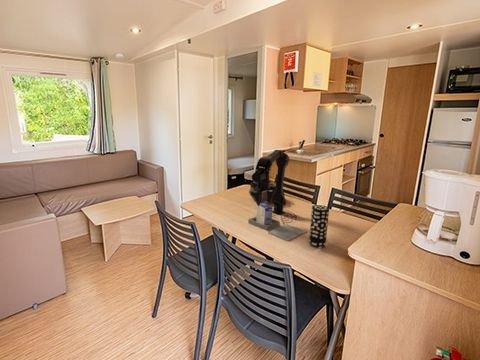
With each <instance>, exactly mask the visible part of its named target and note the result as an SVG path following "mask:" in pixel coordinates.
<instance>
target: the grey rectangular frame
mask: <svg viewBox="0 0 480 360" xmlns="http://www.w3.org/2000/svg"><path fill="white" fill-rule="evenodd" d="M256 218H257V216H254V217H252V218H248V222H247V223H248V224H249V225H251V226H254V227H256V228H259V229H261V230H264V231H271V230H273V229H274V228H278V226H279V227H280V225H281V221H280V220H276V219H275V218H274V219H273V218H272V222H271V224H270V225H267V226H266V225H264V224H261V223H259V222H256Z"/></svg>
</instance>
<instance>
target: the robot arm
mask: <svg viewBox="0 0 480 360" xmlns="http://www.w3.org/2000/svg"><path fill="white" fill-rule="evenodd" d="M274 162H275V164H276V167H277V172H276V173H277V174H276V180H275V181H276V182H275V183H276V186H273V185H269V183H271V180H270V173H271V171H272V169H271V168H272V166H273V163H274ZM256 163H257V164H256V166H255V171H254V172H253V173H252V174H251V180H252V181H253V182H252V181H251V182H250V184H249V185H250V188H253V189H254V188H257V189H260V190H257V189H254V190H251V191H250V194H249V195H250V196H251V195H252V196H254V197H255V199H256V202H255V203H256V205H258V206H260V203H261V199H262V196H261V195H262V193H263V192H267V201H268V202H270V200H272V202H271V204H273V205H274V206H273V210H272V214H273V213H274V214H277V215H282V214H284V213H286V211H284V206H286V205H287V199H286V197H285V192H284V189H283V188H284V182H285V174H286V173H285V172H286V168H287V167H288V165H289V163H290V157H289V155H288V154H287V153H285V152H284V151H283V150H281V149H274V151H273V152H271V153H269V154H268V155H266V156H261V157H259V158H258V160H257V162H256ZM254 182H256V183H254Z"/></svg>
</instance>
